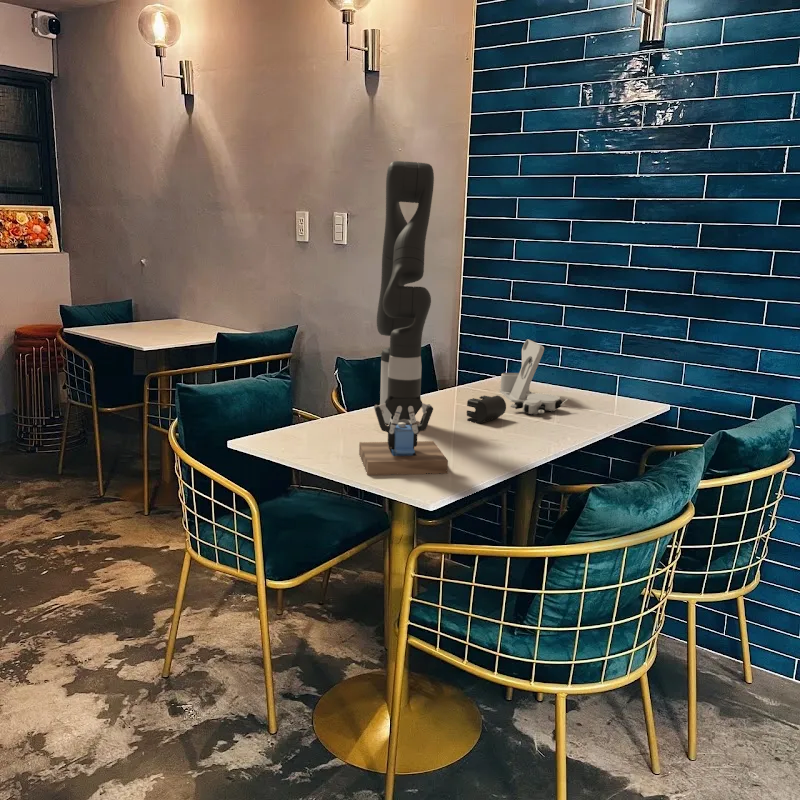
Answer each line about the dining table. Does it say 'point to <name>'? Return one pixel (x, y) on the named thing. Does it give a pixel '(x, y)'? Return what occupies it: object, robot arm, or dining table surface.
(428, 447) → the board
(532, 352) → the phone holder
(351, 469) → the dining table surface
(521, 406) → the robot toy
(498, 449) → the dining table surface
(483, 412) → the end cap
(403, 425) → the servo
